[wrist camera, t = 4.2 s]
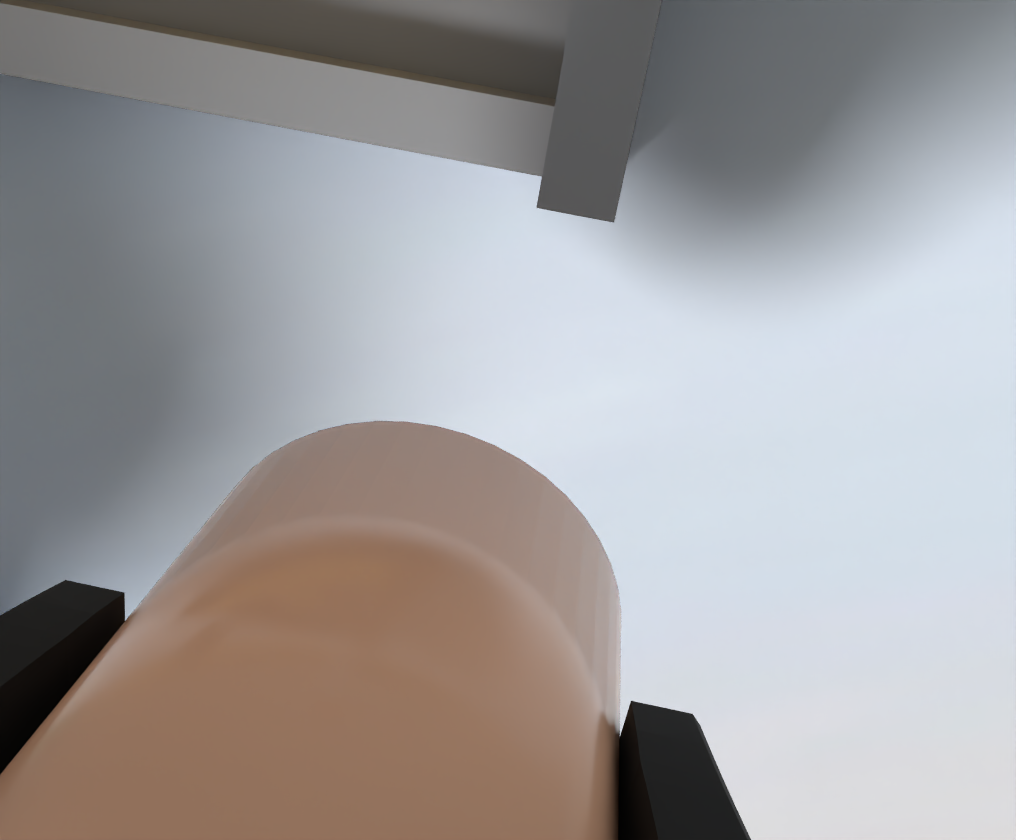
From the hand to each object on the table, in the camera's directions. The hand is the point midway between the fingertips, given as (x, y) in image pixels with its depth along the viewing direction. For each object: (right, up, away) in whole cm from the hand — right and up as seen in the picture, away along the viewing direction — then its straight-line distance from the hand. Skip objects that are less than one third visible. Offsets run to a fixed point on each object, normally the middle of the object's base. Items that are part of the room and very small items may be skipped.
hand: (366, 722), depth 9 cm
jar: (0, +1, +2) cm, 2 cm away
